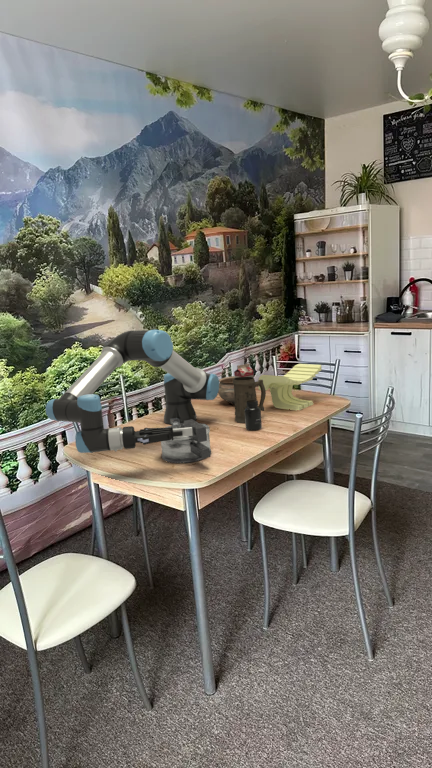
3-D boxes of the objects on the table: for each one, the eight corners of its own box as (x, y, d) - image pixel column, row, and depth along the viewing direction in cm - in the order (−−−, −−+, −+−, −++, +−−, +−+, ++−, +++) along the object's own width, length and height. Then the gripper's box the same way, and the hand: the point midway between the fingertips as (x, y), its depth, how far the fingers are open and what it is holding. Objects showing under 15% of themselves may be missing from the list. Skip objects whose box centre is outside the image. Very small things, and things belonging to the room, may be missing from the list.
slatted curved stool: (295, 397, 277) (294, 363, 274) (322, 400, 267) (321, 364, 263) (260, 411, 256) (257, 374, 252) (288, 415, 245) (285, 376, 242)
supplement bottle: (260, 430, 224) (259, 402, 221) (244, 431, 225) (242, 403, 223) (262, 426, 230) (261, 398, 228) (247, 426, 232) (245, 399, 229)
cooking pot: (230, 396, 292) (228, 374, 290) (263, 397, 284) (261, 374, 281) (210, 408, 270) (207, 384, 268) (244, 409, 262) (242, 384, 260)
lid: (151, 431, 206) (149, 415, 205) (196, 422, 213) (195, 407, 212) (177, 451, 179) (175, 433, 178) (227, 440, 187) (226, 423, 185)
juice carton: (255, 409, 260) (252, 364, 256) (244, 411, 257) (240, 366, 253) (248, 406, 266) (245, 362, 262) (236, 409, 263) (233, 364, 259)
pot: (152, 451, 208) (150, 431, 207) (196, 442, 216) (194, 422, 214) (182, 474, 181) (179, 452, 179) (231, 463, 188) (229, 441, 187)
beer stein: (240, 424, 235) (240, 380, 232) (229, 420, 244) (228, 377, 241) (270, 420, 242) (269, 377, 238) (257, 416, 251) (257, 374, 248)
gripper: (125, 443, 190) (192, 436, 192) (122, 454, 178) (193, 447, 179) (123, 422, 189) (190, 416, 190) (119, 432, 176) (191, 425, 178)
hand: (192, 431), depth 185 cm, fingers closed
